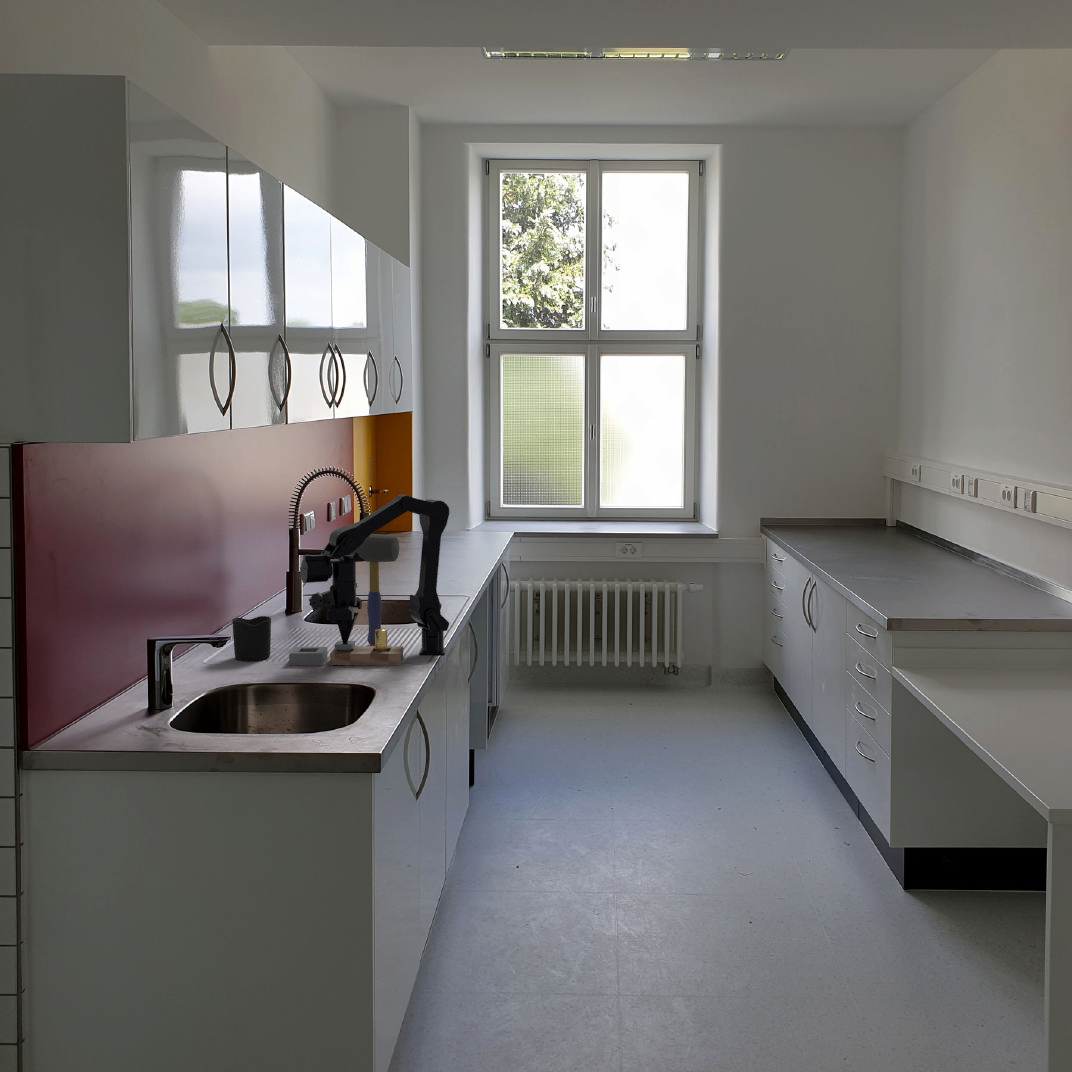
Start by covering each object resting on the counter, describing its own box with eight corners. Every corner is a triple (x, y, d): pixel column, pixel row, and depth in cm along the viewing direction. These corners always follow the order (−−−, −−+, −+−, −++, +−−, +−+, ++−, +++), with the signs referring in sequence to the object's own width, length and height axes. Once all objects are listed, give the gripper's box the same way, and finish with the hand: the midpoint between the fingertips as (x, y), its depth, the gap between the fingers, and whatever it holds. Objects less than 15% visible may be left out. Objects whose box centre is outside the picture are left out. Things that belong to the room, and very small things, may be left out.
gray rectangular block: (337, 659, 266) (337, 640, 266) (355, 658, 266) (355, 640, 266) (334, 662, 262) (334, 644, 261) (352, 662, 262) (352, 644, 261)
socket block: (335, 658, 268) (335, 646, 268) (403, 657, 269) (403, 646, 269) (330, 665, 259) (329, 653, 259) (399, 665, 260) (399, 653, 260)
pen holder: (246, 653, 274) (246, 614, 273) (278, 655, 271) (278, 616, 270) (225, 660, 265) (224, 621, 264) (258, 663, 262) (257, 623, 261)
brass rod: (376, 660, 266) (375, 629, 265) (388, 660, 266) (387, 629, 265) (374, 663, 263) (374, 631, 262) (386, 663, 263) (386, 631, 262)
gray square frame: (295, 658, 268) (295, 646, 267) (327, 658, 268) (327, 646, 268) (289, 665, 260) (289, 653, 259) (322, 665, 260) (322, 653, 260)
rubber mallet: (347, 647, 282) (346, 534, 279) (358, 641, 289) (356, 532, 286) (392, 649, 279) (391, 536, 276) (401, 643, 286) (400, 533, 283)
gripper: (317, 575, 271) (318, 635, 273) (304, 586, 252) (305, 650, 254) (361, 575, 271) (362, 635, 273) (351, 585, 253) (352, 650, 254)
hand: (345, 642), depth 264 cm, fingers closed, pressing on gray rectangular block
